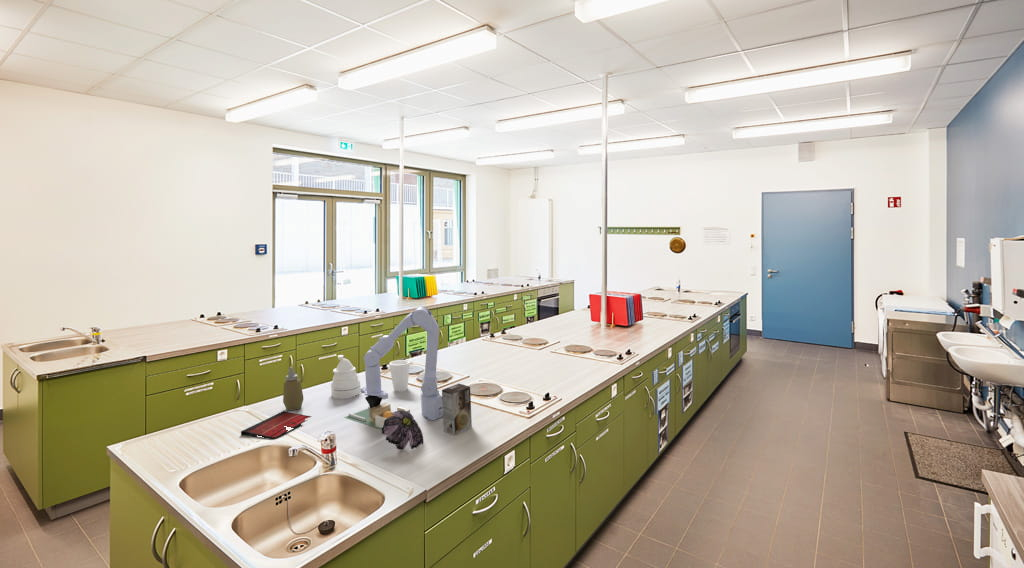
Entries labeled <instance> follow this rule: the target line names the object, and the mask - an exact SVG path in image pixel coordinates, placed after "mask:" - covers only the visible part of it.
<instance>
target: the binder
mask: <svg viewBox="0 0 1024 568" xmlns="http://www.w3.org/2000/svg"><path fill="white" fill-rule="evenodd" d="M312 416H313V415H312ZM312 416H311V415H306V414H301V413H295V412H290V411H283V410H282V411H281V412H278V413H276V414H273V415H272V416H270V417H268V418H266V419H264V420H262V421H259V422H258V423H256V424H252V426H250V427H248V428H246V429H243V430H241V431H240V434H241V435H240V436H244V435H246V434H249V435H251V434H253V435H252V436H256V435H258V436H262V437H264V438H263V439H266V438H269V439H270V440H276V439H277V440H278V439H279V438H281V437H282V436H285V435H286V434H287V433H286V432H287V431H288V430H286V427H284V426H287V427H291V428H295V429H296V428H298V427H300V426H301V424H302V425H303V423H305V422H306V421H307V422H308V419H309V418H313V417H312ZM299 425H300V426H299ZM297 426H298V427H297ZM245 433H246V434H245ZM243 434H244V435H243Z"/></svg>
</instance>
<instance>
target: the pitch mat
mask: <svg viewBox="0 0 1024 568" xmlns="http://www.w3.org/2000/svg"><path fill="white" fill-rule="evenodd" d="M369 409H370V406H369V405H368V406H367V408H366V409H363V410H360V411H358V412H355V413H351V412H349V413H348V415H346V416H344V417H343V418H345V419H348V420H351V421H353V422H357V423H359V424H363V425H364V426H365V425H366V426H368V427H371V428H374V429H377V430H380V431H382V428H380V427H377V426H376V424H375V423H373V422H370V416H369Z"/></svg>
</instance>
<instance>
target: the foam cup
mask: <svg viewBox="0 0 1024 568" xmlns="http://www.w3.org/2000/svg"><path fill="white" fill-rule="evenodd" d="M388 367H389V371H390V376H391V377H390V378H391V381H392V382H391V383H392V387H393V391H395V392H404V390H405V391H408V386H409V375H410V367H411V362H410V361H409V360H408V359H396V360H392V361H390V362H389V363H388Z"/></svg>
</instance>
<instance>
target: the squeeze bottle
mask: <svg viewBox="0 0 1024 568" xmlns="http://www.w3.org/2000/svg"><path fill="white" fill-rule="evenodd" d="M298 377H299V376H298V373H297V374H296V373H295V371H294V367H293V366H290V367H289V368H288V374H287V375H286V376H285V381H283V393H282V394H283V396H282V397H283V398H282V403H283V405H284V408H285V409H286V411H297V410H299V409H301V408H302V406H303V403H304V398H305V397H304V393H303V387H302V382H301V379H299V378H298Z"/></svg>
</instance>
